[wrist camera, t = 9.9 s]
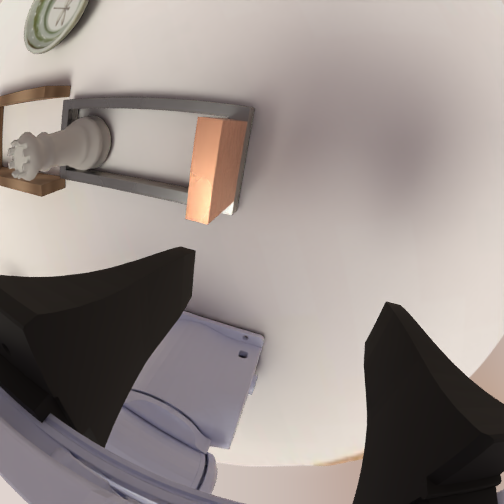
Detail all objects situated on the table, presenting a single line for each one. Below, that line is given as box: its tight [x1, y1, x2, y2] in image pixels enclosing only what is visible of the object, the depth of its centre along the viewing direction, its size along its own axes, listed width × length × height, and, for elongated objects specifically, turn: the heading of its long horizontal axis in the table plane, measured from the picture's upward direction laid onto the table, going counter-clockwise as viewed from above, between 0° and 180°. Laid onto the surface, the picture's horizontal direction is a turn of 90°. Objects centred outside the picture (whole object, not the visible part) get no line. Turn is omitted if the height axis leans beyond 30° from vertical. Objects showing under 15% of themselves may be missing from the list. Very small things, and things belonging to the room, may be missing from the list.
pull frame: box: [60, 97, 255, 224], centre depth 16 cm, size 16×7×6 cm, turn 80°
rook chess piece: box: [8, 116, 111, 181], centre depth 16 cm, size 4×4×8 cm
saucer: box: [24, 0, 89, 54], centre depth 14 cm, size 10×10×2 cm
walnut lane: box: [0, 86, 71, 197], centre depth 20 cm, size 14×9×3 cm, turn 80°
